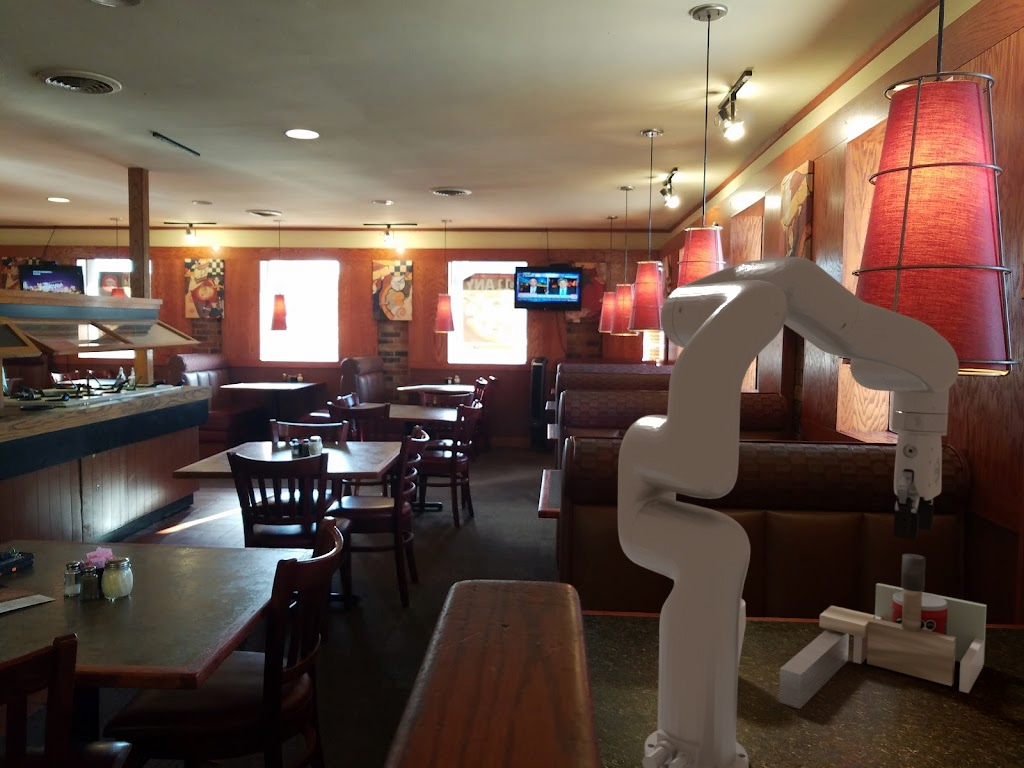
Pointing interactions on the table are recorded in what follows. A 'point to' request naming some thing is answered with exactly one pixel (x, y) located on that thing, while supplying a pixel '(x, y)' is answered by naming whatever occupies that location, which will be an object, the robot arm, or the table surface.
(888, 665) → the kicker figure
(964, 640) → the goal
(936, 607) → the canned food
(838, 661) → the rail
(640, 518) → the robot arm
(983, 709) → the table surface
